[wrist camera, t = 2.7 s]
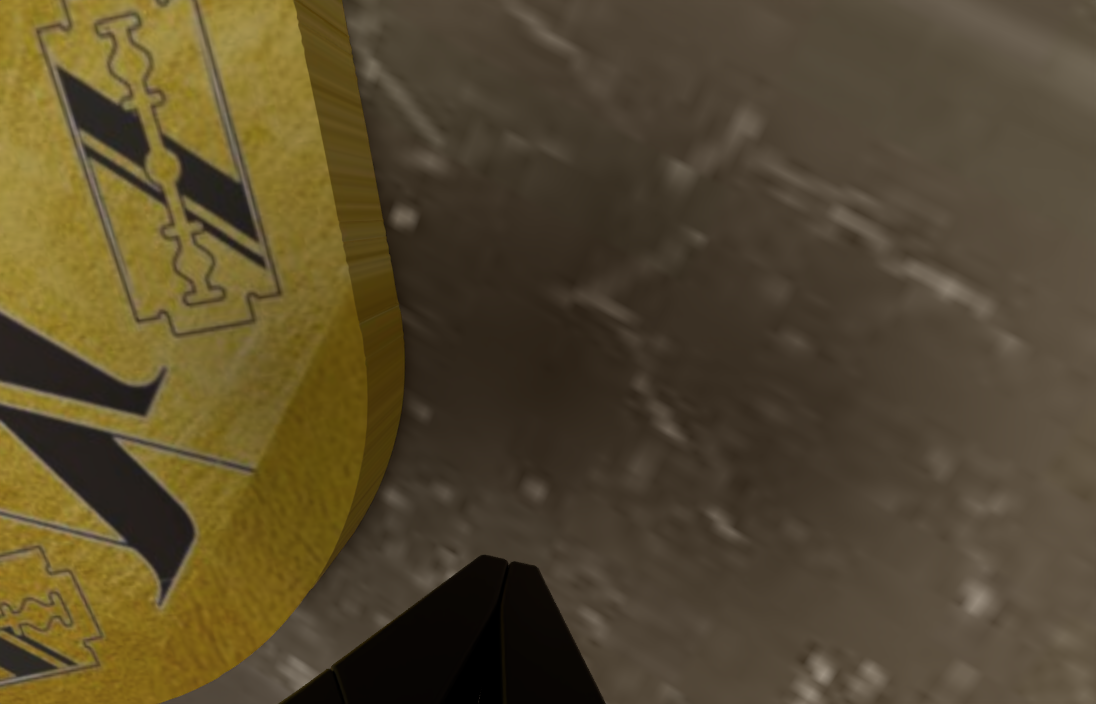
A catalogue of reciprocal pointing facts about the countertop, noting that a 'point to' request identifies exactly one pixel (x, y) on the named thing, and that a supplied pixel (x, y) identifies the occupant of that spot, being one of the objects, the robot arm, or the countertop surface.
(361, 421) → the sign
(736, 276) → the countertop surface
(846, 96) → the countertop surface
